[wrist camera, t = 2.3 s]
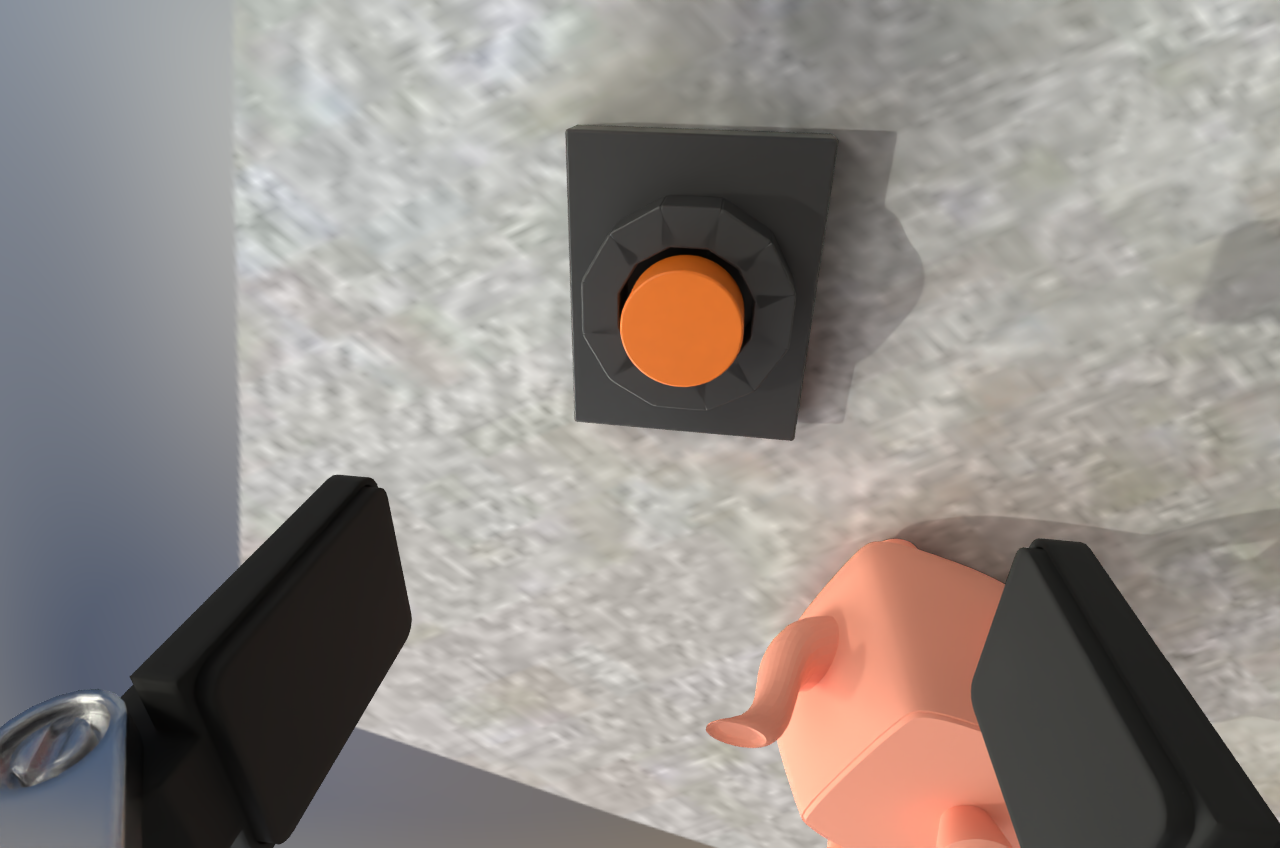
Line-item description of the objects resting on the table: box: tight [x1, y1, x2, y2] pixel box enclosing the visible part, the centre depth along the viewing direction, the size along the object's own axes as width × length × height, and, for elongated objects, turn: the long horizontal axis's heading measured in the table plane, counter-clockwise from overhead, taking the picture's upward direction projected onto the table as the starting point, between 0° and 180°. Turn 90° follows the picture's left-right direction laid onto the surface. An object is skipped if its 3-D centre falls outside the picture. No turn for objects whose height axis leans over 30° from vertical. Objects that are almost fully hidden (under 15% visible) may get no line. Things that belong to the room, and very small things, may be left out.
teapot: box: [706, 539, 1020, 848], centre depth 25 cm, size 14×12×10 cm
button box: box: [565, 125, 838, 441], centre depth 22 cm, size 10×8×3 cm
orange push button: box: [620, 255, 745, 387], centre depth 20 cm, size 4×4×2 cm
